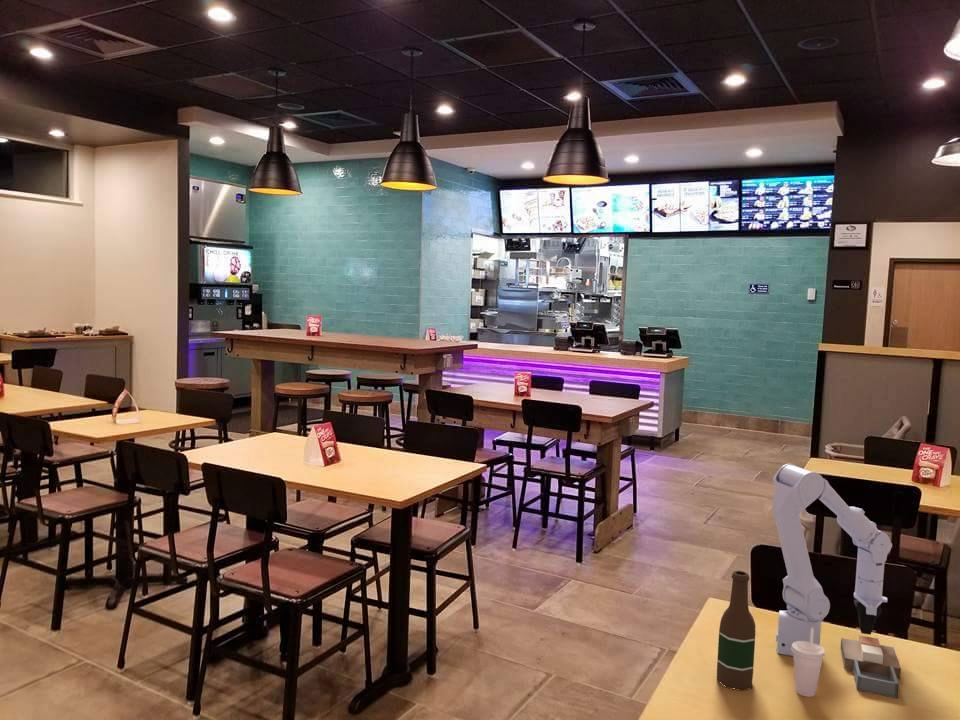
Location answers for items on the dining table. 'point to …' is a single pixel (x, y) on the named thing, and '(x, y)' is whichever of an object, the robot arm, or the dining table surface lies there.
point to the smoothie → (807, 665)
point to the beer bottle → (737, 638)
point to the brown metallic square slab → (852, 651)
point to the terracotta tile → (868, 641)
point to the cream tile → (871, 654)
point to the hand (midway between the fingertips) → (865, 632)
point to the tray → (876, 681)
